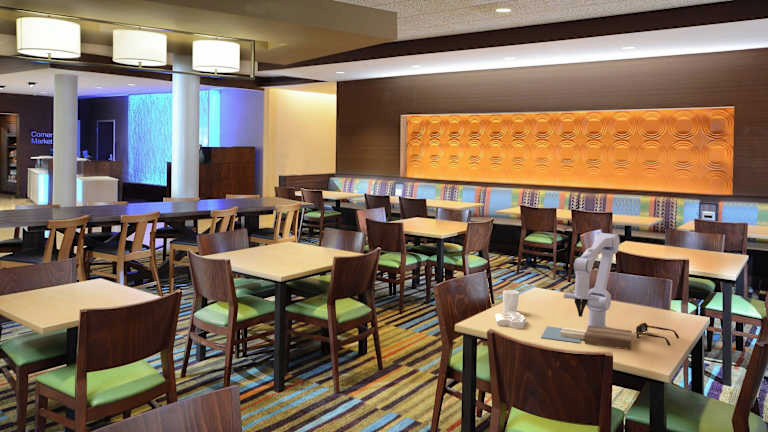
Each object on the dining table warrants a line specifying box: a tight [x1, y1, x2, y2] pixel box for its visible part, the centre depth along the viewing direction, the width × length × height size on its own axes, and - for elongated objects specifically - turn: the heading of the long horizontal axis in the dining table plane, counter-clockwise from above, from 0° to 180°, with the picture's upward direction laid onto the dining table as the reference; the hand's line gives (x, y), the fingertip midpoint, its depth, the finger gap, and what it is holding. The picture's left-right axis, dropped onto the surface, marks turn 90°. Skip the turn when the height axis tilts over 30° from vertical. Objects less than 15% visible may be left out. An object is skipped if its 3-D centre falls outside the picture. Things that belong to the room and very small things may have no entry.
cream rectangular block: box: [560, 327, 587, 340], centre depth 264 cm, size 7×10×2 cm
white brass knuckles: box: [494, 311, 529, 330], centre depth 284 cm, size 3×18×15 cm
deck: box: [584, 324, 633, 350], centre depth 259 cm, size 16×18×4 cm
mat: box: [540, 326, 582, 344], centre depth 266 cm, size 18×16×1 cm
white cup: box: [502, 289, 520, 313], centre depth 304 cm, size 8×8×10 cm
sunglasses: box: [635, 322, 680, 346], centre depth 264 cm, size 14×15×5 cm
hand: (580, 316), depth 263 cm, fingers closed
